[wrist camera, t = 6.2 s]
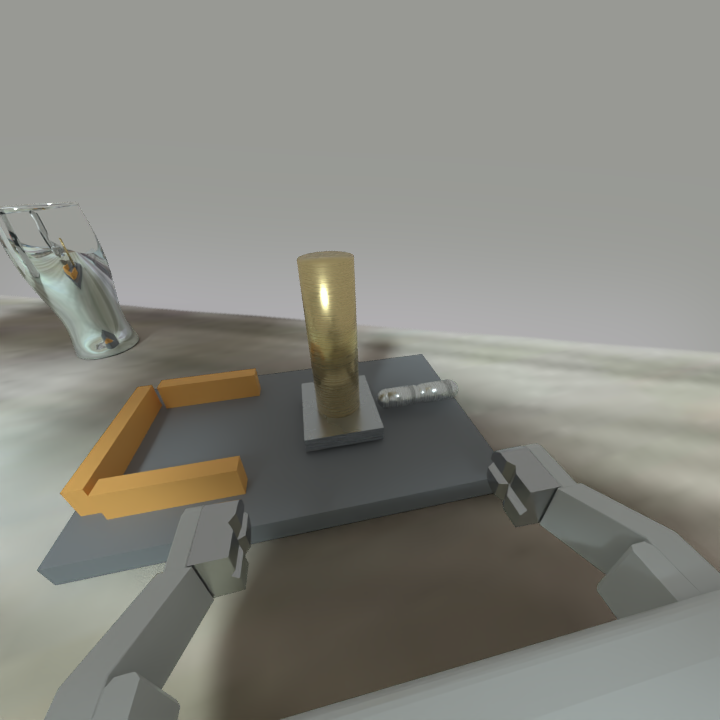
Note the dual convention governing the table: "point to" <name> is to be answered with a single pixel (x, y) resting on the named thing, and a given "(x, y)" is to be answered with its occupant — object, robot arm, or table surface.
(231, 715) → the table surface
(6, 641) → the table surface
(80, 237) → the beer glass
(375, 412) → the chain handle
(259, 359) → the table surface
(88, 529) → the rail board
